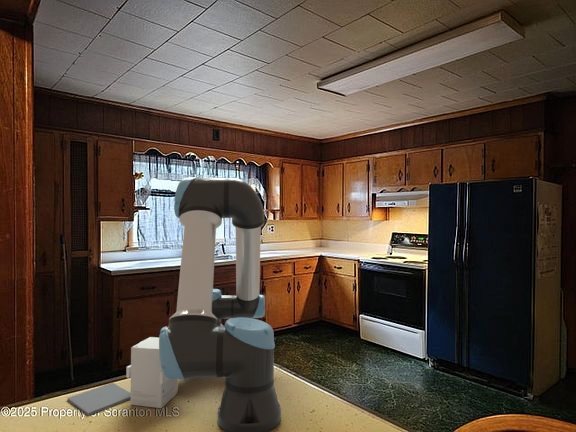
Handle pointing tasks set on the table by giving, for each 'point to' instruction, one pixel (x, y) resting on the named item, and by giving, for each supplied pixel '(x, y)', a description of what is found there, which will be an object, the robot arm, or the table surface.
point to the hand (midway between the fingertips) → (144, 375)
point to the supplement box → (149, 376)
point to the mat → (100, 398)
